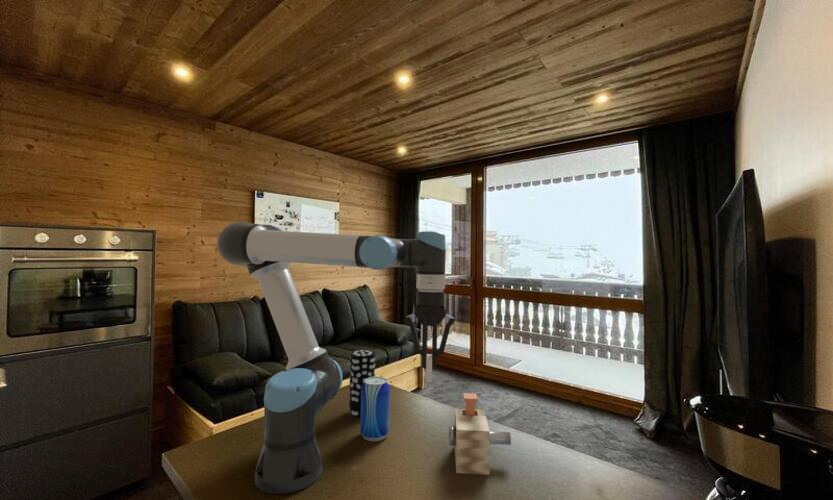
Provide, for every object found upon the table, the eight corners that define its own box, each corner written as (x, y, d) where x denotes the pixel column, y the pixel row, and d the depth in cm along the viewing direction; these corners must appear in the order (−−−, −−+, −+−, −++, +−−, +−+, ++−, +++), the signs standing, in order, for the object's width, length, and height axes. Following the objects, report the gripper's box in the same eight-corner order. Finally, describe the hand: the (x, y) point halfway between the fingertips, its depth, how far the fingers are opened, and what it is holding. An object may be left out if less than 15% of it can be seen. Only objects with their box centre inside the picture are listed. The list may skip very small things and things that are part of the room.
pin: (449, 449, 91) (449, 430, 91) (448, 439, 96) (448, 422, 96) (511, 452, 90) (511, 433, 90) (508, 442, 95) (508, 425, 95)
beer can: (384, 444, 100) (385, 386, 100) (356, 440, 101) (356, 384, 102) (392, 430, 108) (393, 376, 108) (366, 427, 110) (366, 374, 110)
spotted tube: (347, 409, 122) (348, 350, 122) (371, 406, 124) (372, 348, 125) (350, 420, 114) (351, 357, 114) (376, 417, 116) (377, 355, 117)
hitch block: (456, 473, 87) (456, 429, 87) (454, 446, 99) (454, 408, 99) (489, 474, 87) (489, 431, 87) (483, 448, 99) (484, 409, 99)
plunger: (463, 427, 95) (463, 398, 95) (462, 421, 99) (463, 393, 99) (477, 428, 95) (477, 398, 95) (475, 422, 98) (476, 393, 99)
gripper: (404, 291, 91) (402, 384, 91) (456, 292, 90) (454, 386, 90) (407, 288, 98) (405, 374, 98) (454, 289, 97) (453, 376, 97)
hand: (429, 380), depth 94 cm, fingers closed
